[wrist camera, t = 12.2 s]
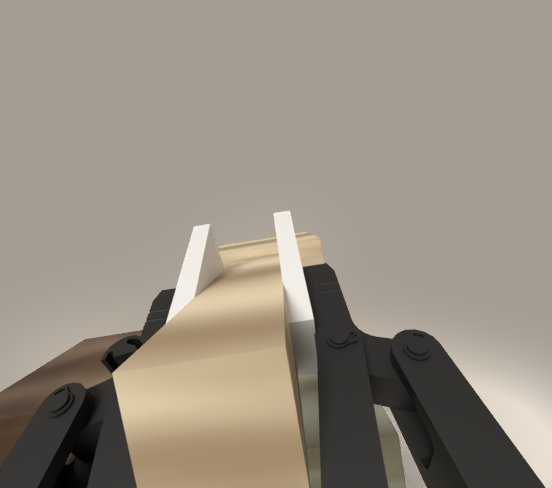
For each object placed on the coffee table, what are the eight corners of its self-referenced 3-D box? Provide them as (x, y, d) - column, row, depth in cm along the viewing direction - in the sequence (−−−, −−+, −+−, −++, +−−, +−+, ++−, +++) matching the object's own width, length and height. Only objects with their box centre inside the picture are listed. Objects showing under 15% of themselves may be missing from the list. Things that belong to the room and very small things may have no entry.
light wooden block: (458, 516, 5) (431, 294, 5) (18, 576, 6) (-36, 367, 5) (312, 272, 29) (306, 231, 29) (231, 285, 29) (223, 245, 29)
